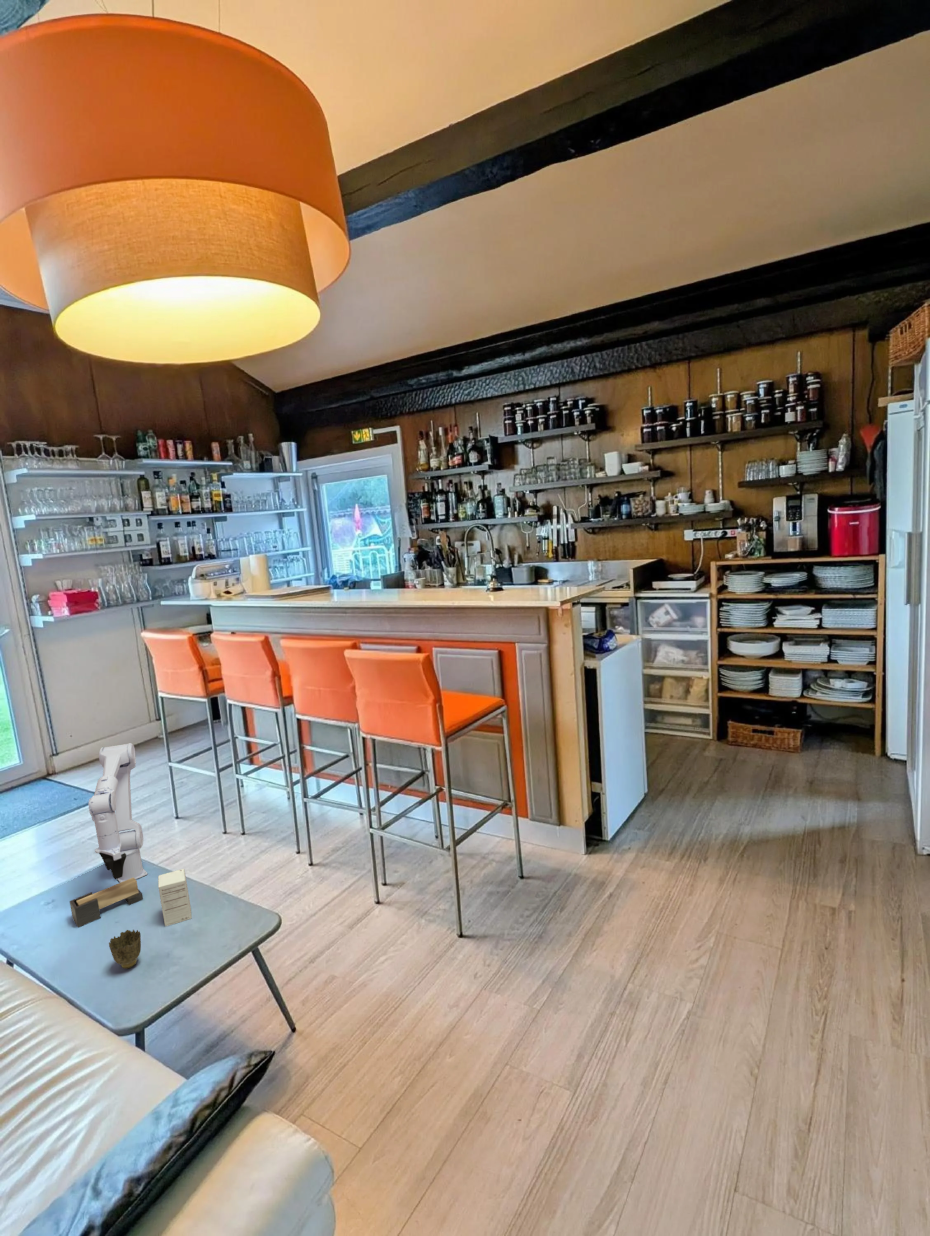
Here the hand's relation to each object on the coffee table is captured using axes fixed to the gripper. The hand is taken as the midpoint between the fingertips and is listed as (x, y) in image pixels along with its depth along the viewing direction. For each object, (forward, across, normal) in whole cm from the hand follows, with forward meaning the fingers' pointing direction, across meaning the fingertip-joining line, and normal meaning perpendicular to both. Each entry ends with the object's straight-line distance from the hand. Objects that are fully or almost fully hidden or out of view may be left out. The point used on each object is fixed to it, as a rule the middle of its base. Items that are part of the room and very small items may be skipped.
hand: (114, 873), depth 197 cm
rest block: (+10, 0, +4) cm, 11 cm away
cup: (+10, +33, -7) cm, 36 cm away
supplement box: (+10, +21, +10) cm, 26 cm away
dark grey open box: (+10, 0, -9) cm, 14 cm away
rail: (+8, 0, -3) cm, 9 cm away
